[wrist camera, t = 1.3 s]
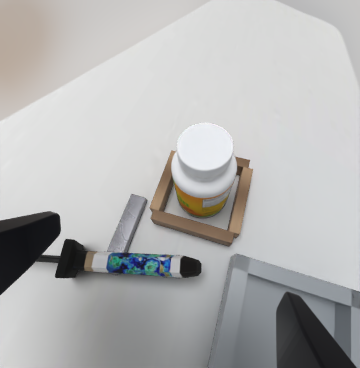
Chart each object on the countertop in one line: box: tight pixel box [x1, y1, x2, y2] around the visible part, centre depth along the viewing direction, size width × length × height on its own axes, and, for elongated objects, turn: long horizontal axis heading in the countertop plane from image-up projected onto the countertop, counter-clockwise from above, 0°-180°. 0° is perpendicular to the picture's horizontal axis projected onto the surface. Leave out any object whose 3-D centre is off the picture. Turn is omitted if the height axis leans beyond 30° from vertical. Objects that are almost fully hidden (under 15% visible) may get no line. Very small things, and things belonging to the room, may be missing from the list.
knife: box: [36, 239, 201, 278], centre depth 20 cm, size 31×3×4 cm, turn 83°
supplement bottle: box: [171, 123, 237, 218], centre depth 19 cm, size 5×5×10 cm
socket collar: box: [150, 150, 253, 246], centre depth 23 cm, size 9×9×2 cm
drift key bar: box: [107, 194, 147, 275], centre depth 22 cm, size 8×2×1 cm, turn 162°
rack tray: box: [208, 254, 360, 368], centre depth 16 cm, size 10×10×3 cm
